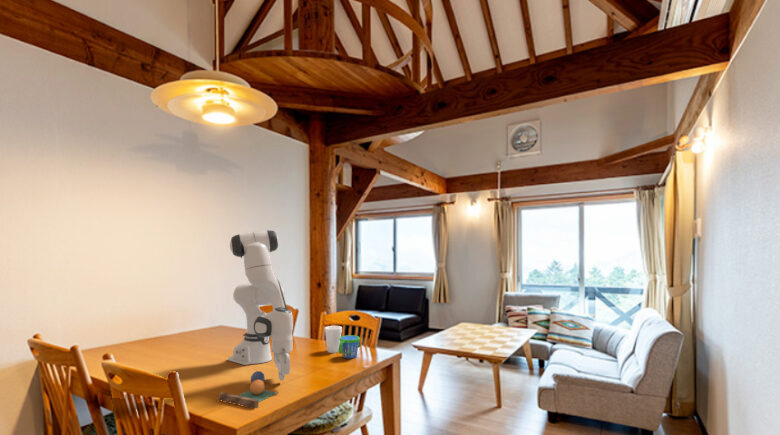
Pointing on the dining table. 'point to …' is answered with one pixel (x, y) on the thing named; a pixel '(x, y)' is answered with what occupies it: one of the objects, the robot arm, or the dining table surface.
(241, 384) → the dining table surface
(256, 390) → the orange ball
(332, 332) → the foam cup
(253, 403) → the rail
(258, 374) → the blue ball
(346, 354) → the snack cup
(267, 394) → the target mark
